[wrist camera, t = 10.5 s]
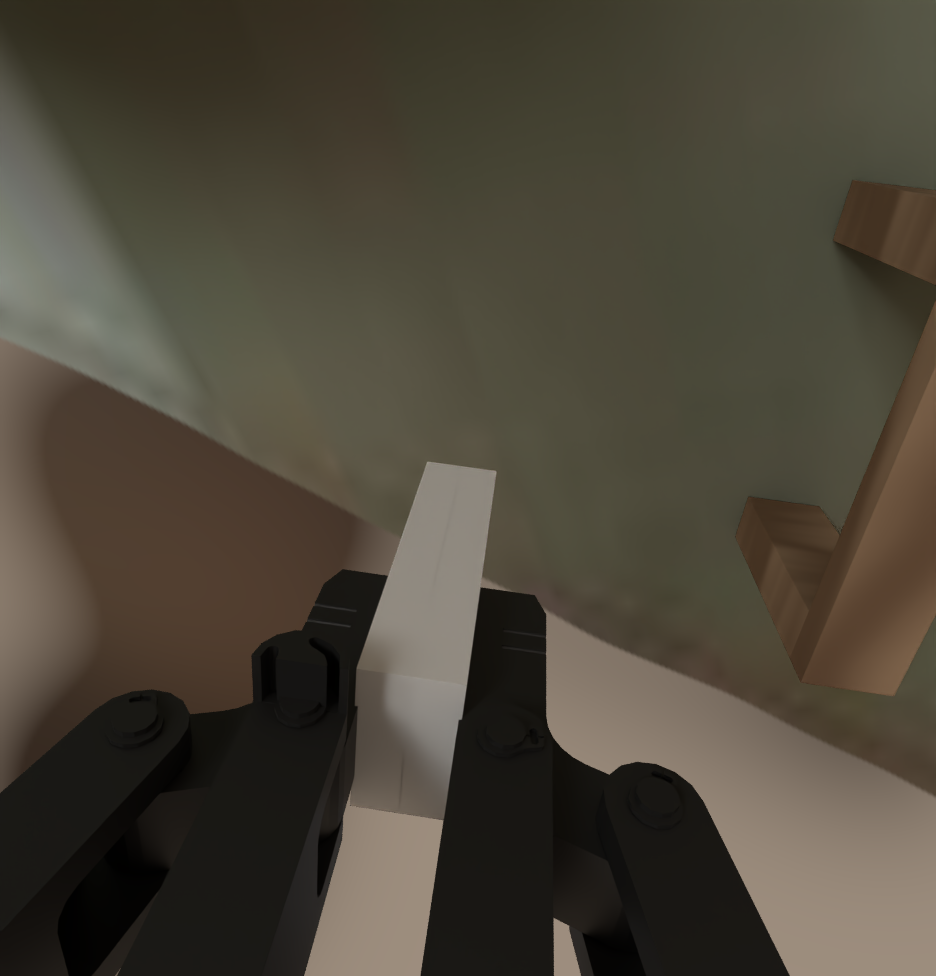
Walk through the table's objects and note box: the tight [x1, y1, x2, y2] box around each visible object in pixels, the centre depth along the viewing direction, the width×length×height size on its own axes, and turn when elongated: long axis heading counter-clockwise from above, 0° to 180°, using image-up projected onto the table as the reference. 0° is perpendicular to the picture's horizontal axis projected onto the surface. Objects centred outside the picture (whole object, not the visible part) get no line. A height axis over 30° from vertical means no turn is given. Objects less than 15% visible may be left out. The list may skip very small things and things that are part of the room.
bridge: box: [735, 180, 936, 696], centre depth 24 cm, size 3×14×9 cm, turn 174°
